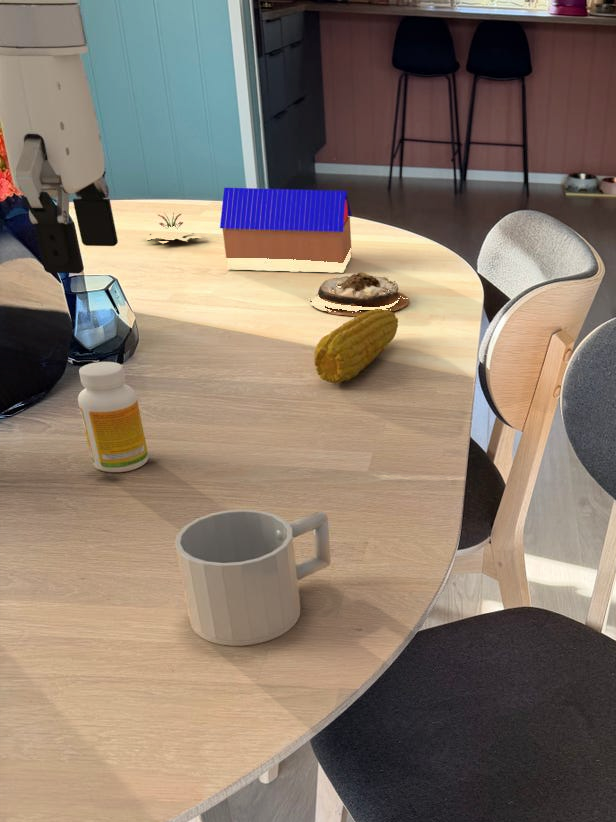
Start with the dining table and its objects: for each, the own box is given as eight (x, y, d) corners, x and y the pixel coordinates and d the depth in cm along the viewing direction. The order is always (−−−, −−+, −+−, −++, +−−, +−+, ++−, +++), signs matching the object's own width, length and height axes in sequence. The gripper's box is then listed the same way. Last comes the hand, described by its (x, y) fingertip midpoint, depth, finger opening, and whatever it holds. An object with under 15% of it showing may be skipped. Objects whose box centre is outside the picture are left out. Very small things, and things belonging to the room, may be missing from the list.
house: (241, 253, 164) (232, 181, 158) (354, 256, 165) (350, 184, 158) (225, 270, 155) (215, 194, 148) (345, 274, 155) (341, 198, 148)
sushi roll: (299, 313, 136) (297, 284, 134) (322, 286, 148) (320, 259, 146) (399, 318, 135) (398, 289, 133) (414, 290, 148) (413, 263, 145)
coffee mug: (229, 660, 68) (216, 578, 64) (169, 613, 72) (153, 534, 68) (363, 596, 75) (358, 519, 71) (300, 557, 80) (293, 483, 76)
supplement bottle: (160, 460, 95) (142, 366, 89) (116, 478, 91) (95, 382, 85) (125, 446, 97) (106, 354, 91) (81, 464, 93) (58, 369, 88)
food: (353, 393, 111) (350, 343, 108) (308, 388, 112) (304, 338, 109) (406, 339, 128) (405, 295, 124) (367, 335, 129) (365, 291, 125)
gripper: (27, 25, 81) (73, 235, 91) (-64, 36, 67) (3, 283, 77) (115, 27, 81) (151, 236, 91) (42, 38, 67) (95, 285, 77)
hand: (83, 258), depth 84 cm, fingers open, 9 cm apart
